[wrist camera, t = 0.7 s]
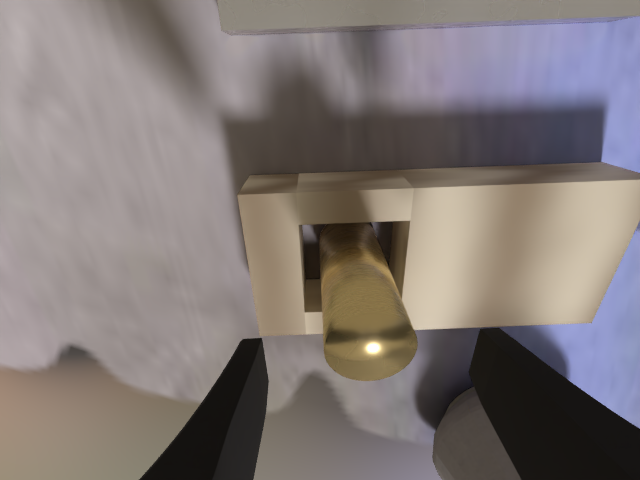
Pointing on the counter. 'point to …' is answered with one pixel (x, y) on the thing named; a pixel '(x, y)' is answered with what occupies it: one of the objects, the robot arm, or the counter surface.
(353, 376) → the axle
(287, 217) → the beam
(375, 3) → the v-block
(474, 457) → the coffee pot
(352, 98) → the counter surface
